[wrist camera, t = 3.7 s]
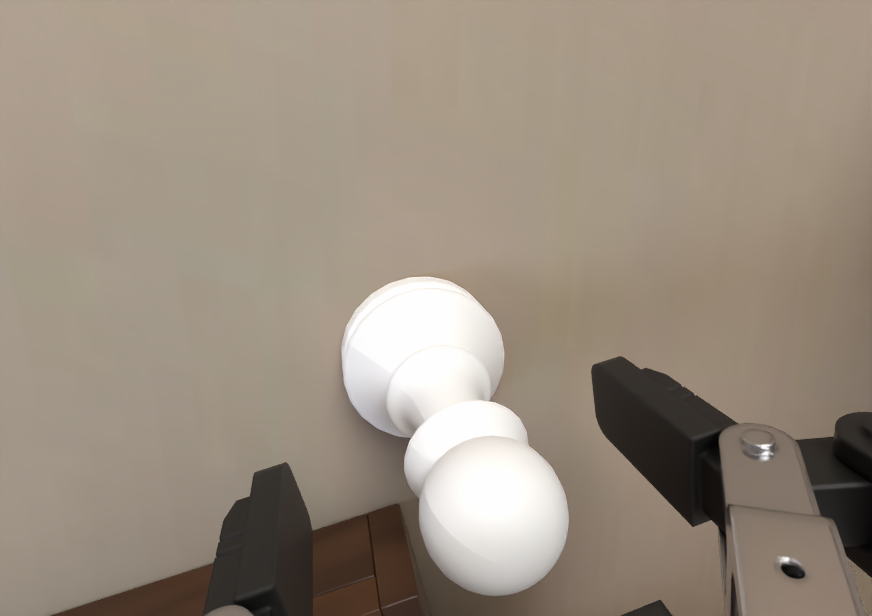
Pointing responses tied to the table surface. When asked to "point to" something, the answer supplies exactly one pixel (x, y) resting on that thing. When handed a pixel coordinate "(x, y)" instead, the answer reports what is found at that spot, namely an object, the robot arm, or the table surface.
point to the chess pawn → (456, 433)
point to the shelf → (332, 576)
